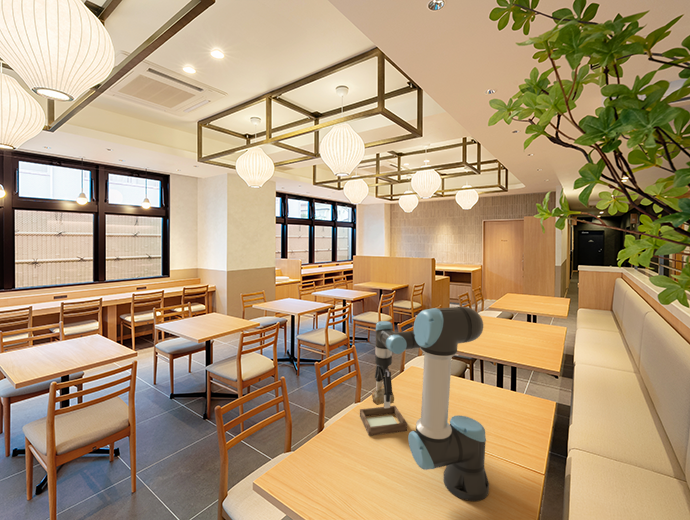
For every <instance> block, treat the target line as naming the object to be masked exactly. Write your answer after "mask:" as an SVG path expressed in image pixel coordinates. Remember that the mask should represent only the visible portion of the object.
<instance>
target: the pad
mask: <svg viewBox="0 0 690 520" xmlns="http://www.w3.org/2000/svg"><path fill="white" fill-rule="evenodd" d="M366 419H367V421H368V423H369V425H370V427H373V426H381V425H390V424H398V422H397V420H396V419H395V417H394V416H393V414H386V415H378V416H369V417H366Z"/></svg>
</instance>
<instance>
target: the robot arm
mask: <svg viewBox="0 0 690 520" xmlns="http://www.w3.org/2000/svg"><path fill="white" fill-rule="evenodd" d="M393 329H394V327H393V323H392V322H391V321H386V320H382V321H381V320H379V321H378V322H376V324H375V330H374V331H375V349H374V350H375V351H374V353H375V359H374V360H375V361H374V362H375V364H376V365H375V366H376V367H375V372H374V379H375V381H376V382H375V383H376V384H375V385H376V386H375V388H376V389H375V391H377V390H379V389H380V387H382V385H383V384H384V390H385V393H384V403H383V407H384V408H390V406H391V403H390V395H394V392H393V386H392V385H393V384H392V372H391V371H390V368H389V366H392V363H393V354H396V355H400V354H402V353H403V352H405V350H412V349H420V351H422V353H423V355H424V358H423V373H422V375H423V376H422V393H421V395H422V396H421V414H420V418H418V419H417V421H416V423H415V430H411V431H410V432H409V433H408V437H407V438H408V446H409V450H410V453H411V455H412V458H413V460H414V462H415V464H416V465H417V466H418V467H419V468H420V469H421V470H424V471H427V470H435V469H438V468H442V467H445V468H444V471H443V483H444V485H445V488H446V489H447V490H448V491H449V492H450V493H451V494H453V495H454V496H455V497H457V498H460V499H462V500H464V501H467V502H478V501H482V500H485V499H486V498H487V497H488V495H489V493H490V481H489V479H488V476H487V472H486V469H485V462H486V461H485V460H486V459H485V457H486V442H487V438H486V429H485V427H484V425H482V423H481V422H479V421H477V420H476V419H474V418H471V417H469V416H466V415H454V416H451V418H450V420H449V419H448V418H449V408H450V407H449V405H450V392H451V390H450V389H451V373H452V372H451V371H452V362H453V361H452V360H453V359H452V357H454V356H456V354H457V353H458V345H460V344H464V343H465V344H466V343H470V342H474V341H476V340H477V339H479V338H480V337H481V335H482V333H483V330H484V320H483V318H482V317H481V314H480V313H478V312H477V310H475V309H473V308H471V307H468V306H454V307H437V308H436V307H433V308H429V309H423V310H421V311H420V312H419V313H418V314H417V315H416V317H415V319H414V323H413V330H411V331H400V332H399V331H398V332H396V331H394V330H393ZM392 392H393V393H392ZM448 420H449V422H448Z"/></svg>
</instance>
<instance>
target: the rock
mask: <svg viewBox="0 0 690 520" xmlns="http://www.w3.org/2000/svg"><path fill="white" fill-rule="evenodd" d="M384 393H385V390H384V384H383V383H382V387H380V389H379V390H377V391H376V390H375V391H373V392H372V393H371V397H372V403H373V404H375V405H376V406H379V405H384ZM392 393H393V395H390V405H391V404H394V401H395V395H394V392H393V391H392Z"/></svg>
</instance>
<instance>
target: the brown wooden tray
mask: <svg viewBox="0 0 690 520" xmlns="http://www.w3.org/2000/svg"><path fill="white" fill-rule="evenodd" d="M387 415H394V416H395V418H396V419H397V421H398V422H397V424H390V425H381V426H373V427H370V425H369V423H368V421H367V419H366V418H369V417H378V416H387ZM359 417H360V420H361V421H362V424H363V427H364V428H365V431H366V433H367V435H368V437H371V436H379V435H386V434H387V435H388V434H396V433H403V432H404V433H405V432H408V430H409V429H408V427H409V425H408V422H407V421H406V419H405V417H404V416H403V415H402V413H401V412H400V411H399V409H398V408H397V406H396V405H390V408H384V406H380V407H370V408H359Z"/></svg>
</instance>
